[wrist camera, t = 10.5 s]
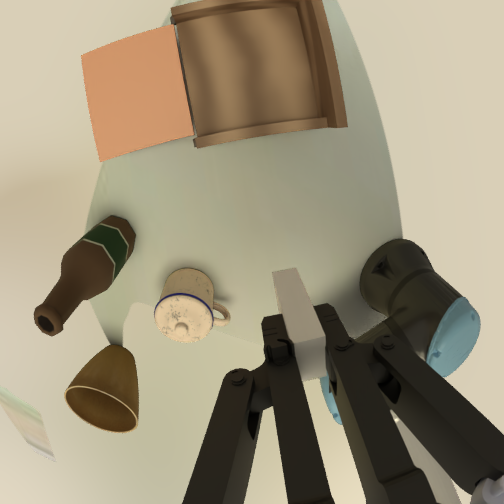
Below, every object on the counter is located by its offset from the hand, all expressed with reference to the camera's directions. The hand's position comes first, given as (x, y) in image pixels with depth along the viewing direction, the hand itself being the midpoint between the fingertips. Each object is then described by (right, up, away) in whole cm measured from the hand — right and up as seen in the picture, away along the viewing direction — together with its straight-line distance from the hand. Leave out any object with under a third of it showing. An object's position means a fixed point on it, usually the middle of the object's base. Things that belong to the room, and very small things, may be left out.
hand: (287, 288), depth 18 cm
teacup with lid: (-12, -5, +32) cm, 34 cm away
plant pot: (-31, -20, +37) cm, 53 cm away
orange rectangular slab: (-10, +23, +11) cm, 27 cm away
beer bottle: (-25, +5, +26) cm, 37 cm away
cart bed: (-3, +28, +18) cm, 33 cm away
